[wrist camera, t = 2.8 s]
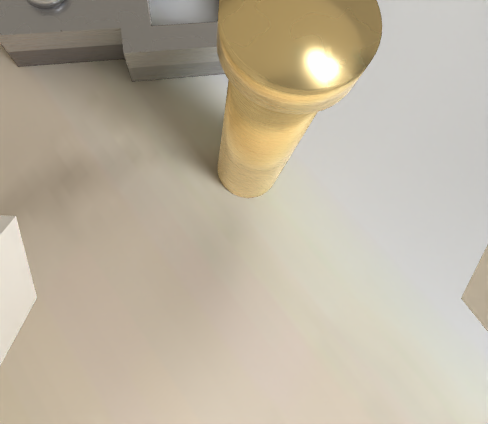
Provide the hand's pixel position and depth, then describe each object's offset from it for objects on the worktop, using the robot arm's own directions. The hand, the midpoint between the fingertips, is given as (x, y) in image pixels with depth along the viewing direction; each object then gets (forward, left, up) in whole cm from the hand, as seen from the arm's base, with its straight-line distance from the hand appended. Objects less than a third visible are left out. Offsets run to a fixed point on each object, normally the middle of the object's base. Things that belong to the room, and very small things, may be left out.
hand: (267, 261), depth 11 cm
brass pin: (-2, -7, -13) cm, 15 cm away
